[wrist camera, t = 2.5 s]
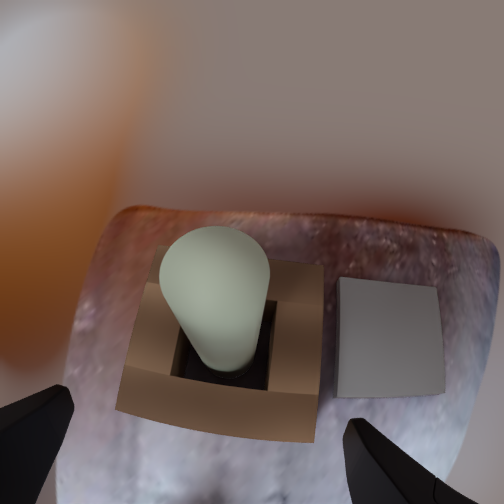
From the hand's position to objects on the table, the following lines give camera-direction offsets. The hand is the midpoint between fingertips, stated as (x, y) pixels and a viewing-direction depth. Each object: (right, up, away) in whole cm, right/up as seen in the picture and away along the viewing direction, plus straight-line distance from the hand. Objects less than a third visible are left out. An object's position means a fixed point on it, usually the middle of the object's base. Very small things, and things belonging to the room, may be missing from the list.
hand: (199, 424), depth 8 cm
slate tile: (+12, -2, +13) cm, 18 cm away
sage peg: (0, -2, +12) cm, 12 cm away
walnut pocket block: (0, -2, +12) cm, 12 cm away
